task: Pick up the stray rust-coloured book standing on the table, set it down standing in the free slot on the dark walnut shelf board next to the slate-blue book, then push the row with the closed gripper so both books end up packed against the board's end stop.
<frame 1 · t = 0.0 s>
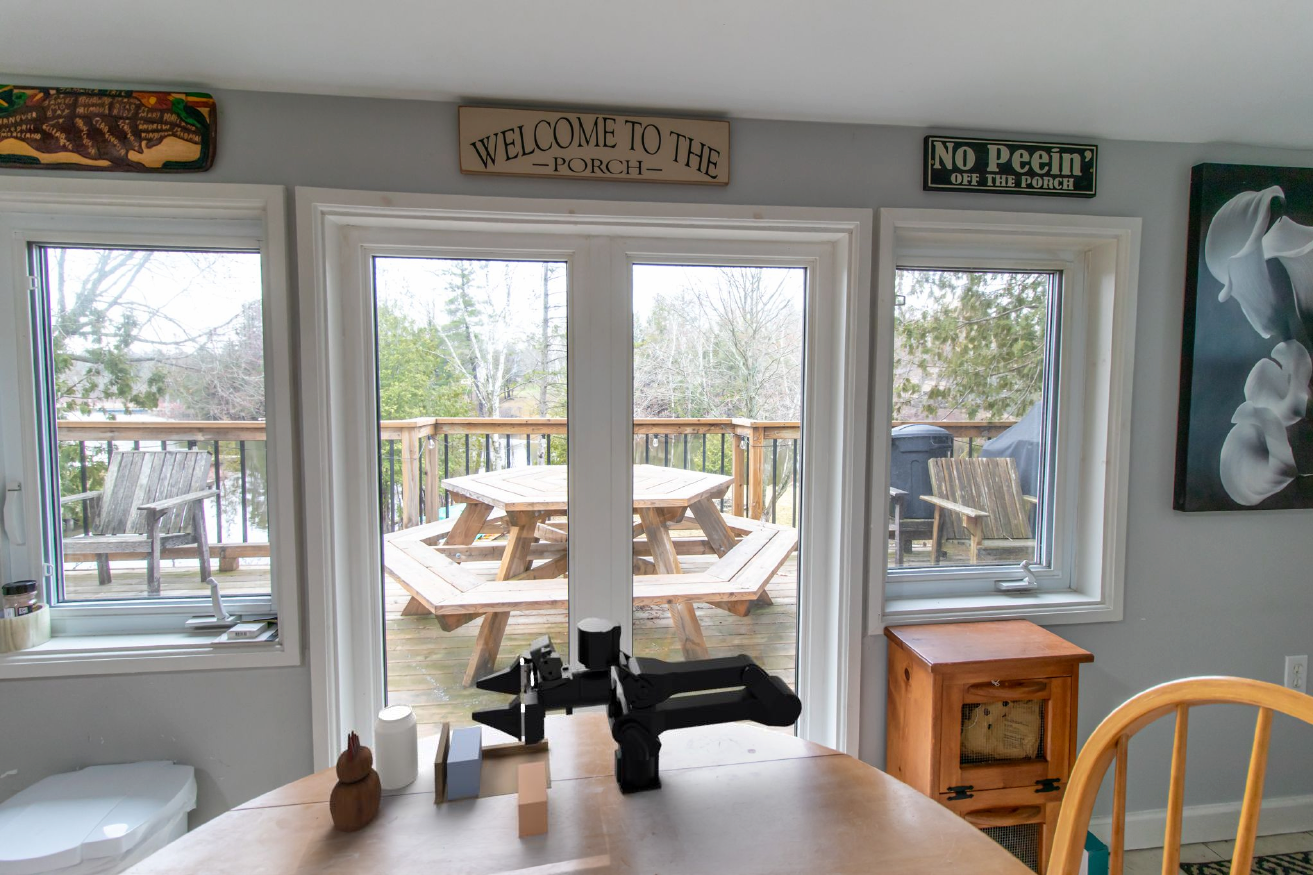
hand: (474, 699, 91), 17 cm above the table, tool horizontal, fingers open, 9 cm apart
beverage can: (397, 783, 97), on the table
wooden figurine: (357, 825, 88), on the table
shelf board: (495, 778, 98), on the table
blue book: (465, 778, 96), point 1 cm above the table, touching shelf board
rust book: (532, 819, 89), on the table
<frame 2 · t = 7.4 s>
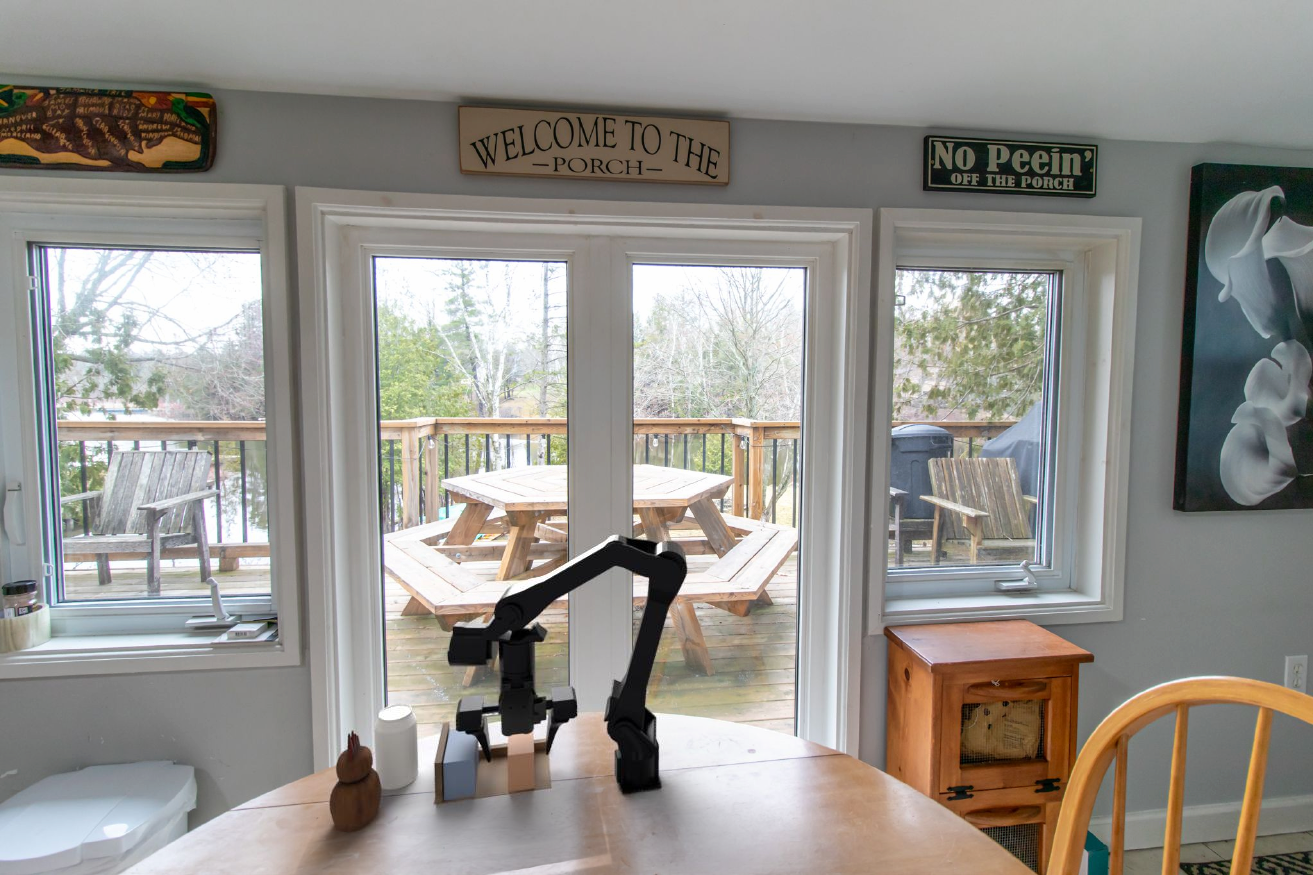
hand: (518, 757, 98), 4 cm above the table, tool pointing down, fingers open, 9 cm apart
rust book: (521, 771, 98), point 1 cm above the table, touching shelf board
everything else where it was.
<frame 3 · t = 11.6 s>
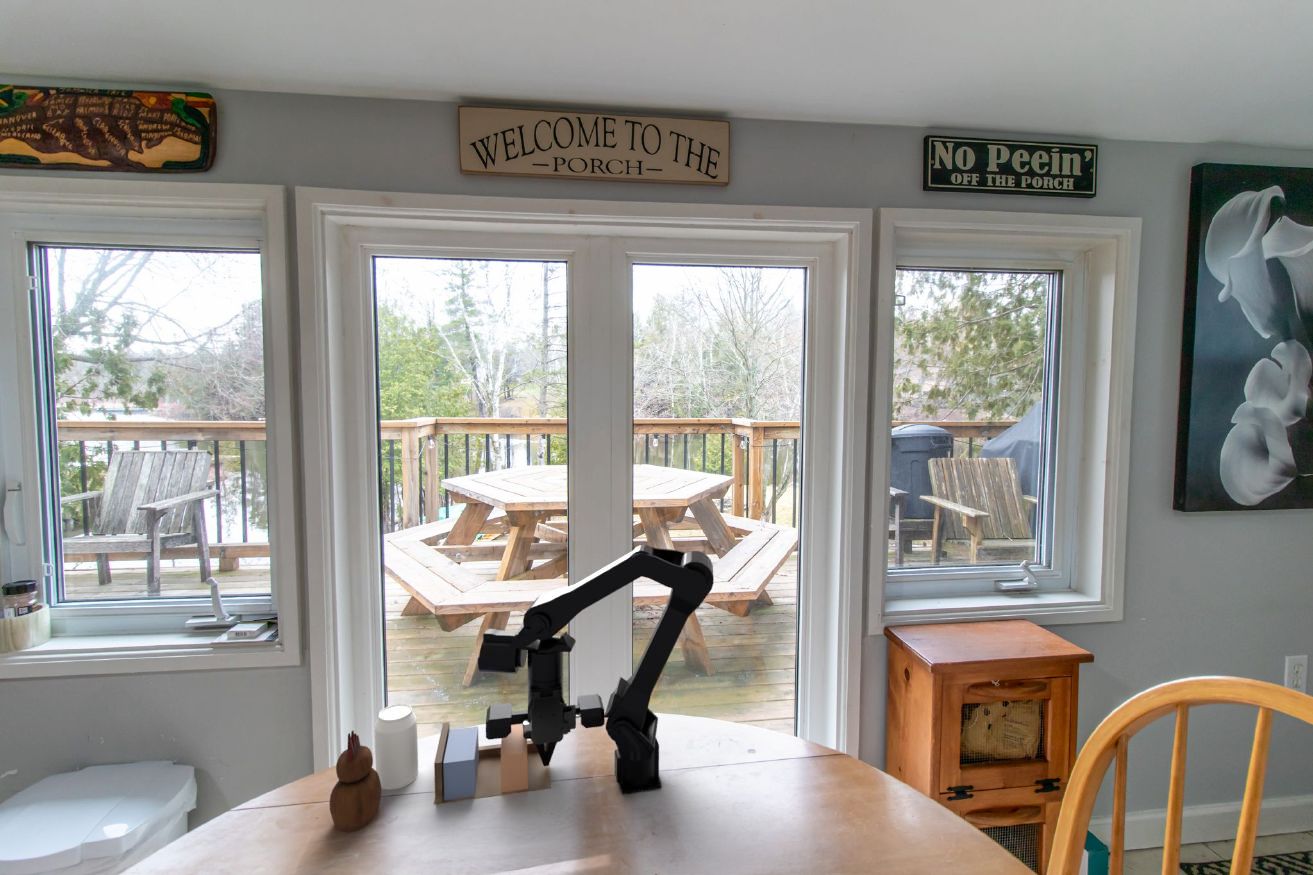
hand: (546, 764, 99), 2 cm above the table, tool pointing down, fingers closed
rust book: (514, 772, 98), point 1 cm above the table, touching gripper, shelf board
everything else where it was.
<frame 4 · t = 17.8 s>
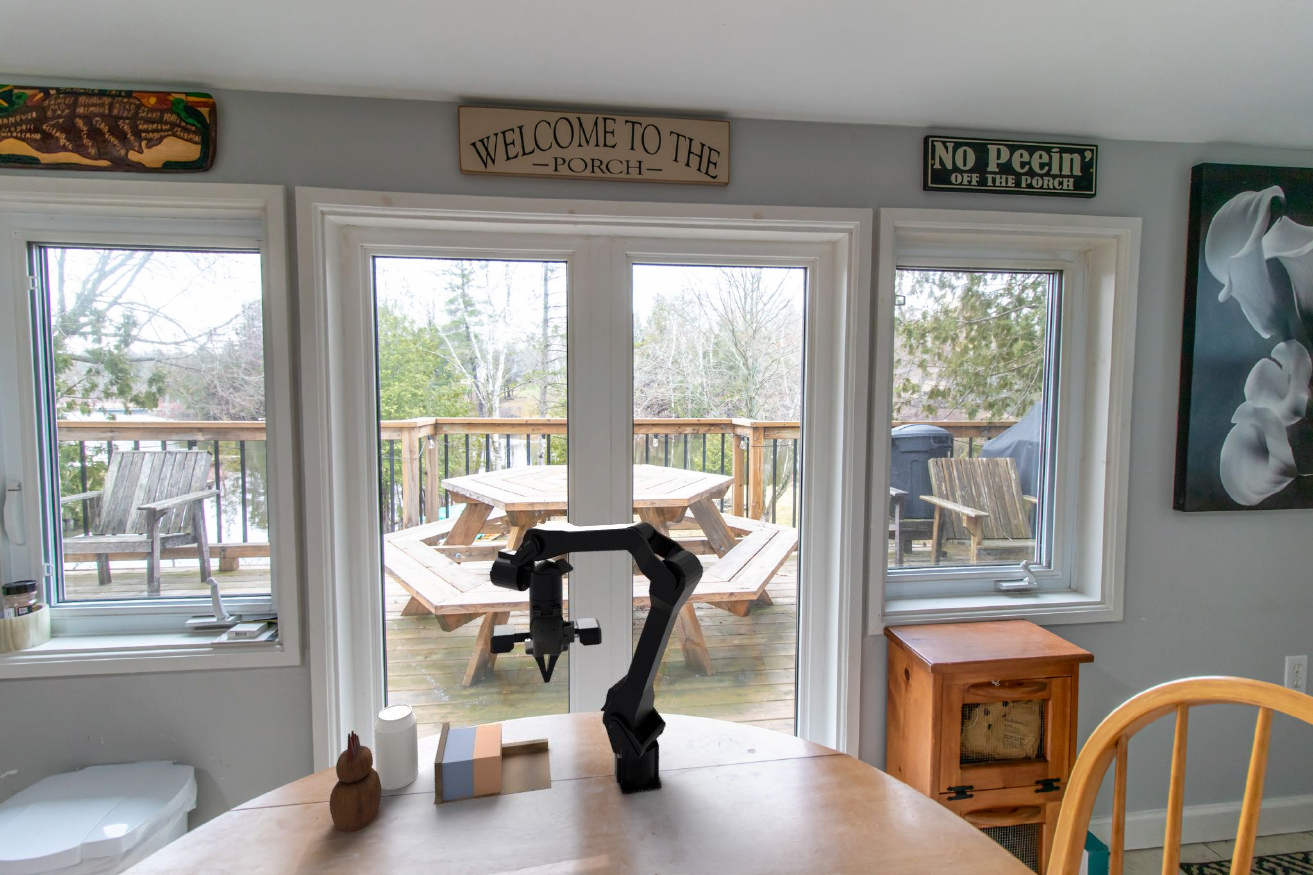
hand: (546, 681, 106), 12 cm above the table, tool pointing down, fingers closed
rust book: (488, 775, 97), point 1 cm above the table, touching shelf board
everything else where it was.
at the end: rust book 0.3 cm from the target spot, point 1.0 cm above the table; rust book tilted 0°; rust book 4.3 cm from the blue book (horizontally) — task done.
